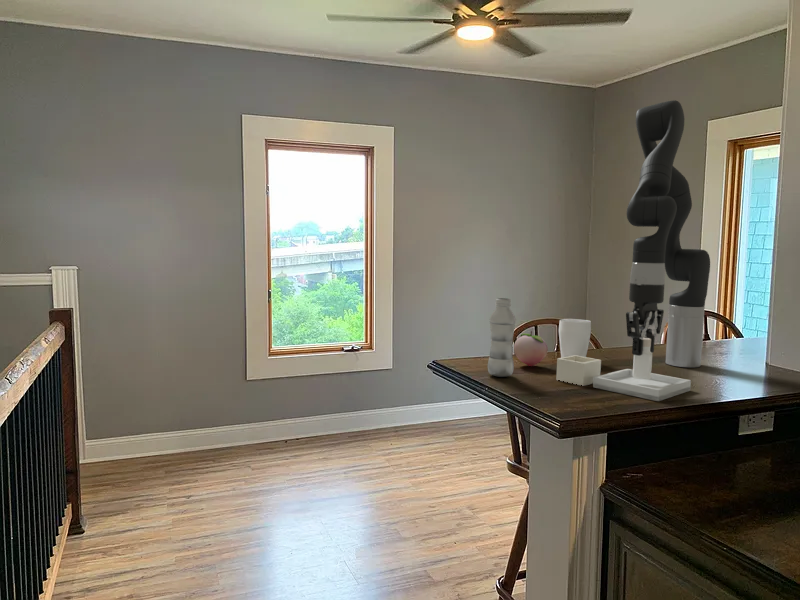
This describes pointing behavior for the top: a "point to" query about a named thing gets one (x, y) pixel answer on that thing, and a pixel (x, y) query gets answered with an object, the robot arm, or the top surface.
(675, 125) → the robot arm
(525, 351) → the decorative fruit
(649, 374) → the pepper shaker
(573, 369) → the holder
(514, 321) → the plastic bottle
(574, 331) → the cup
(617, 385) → the tray
